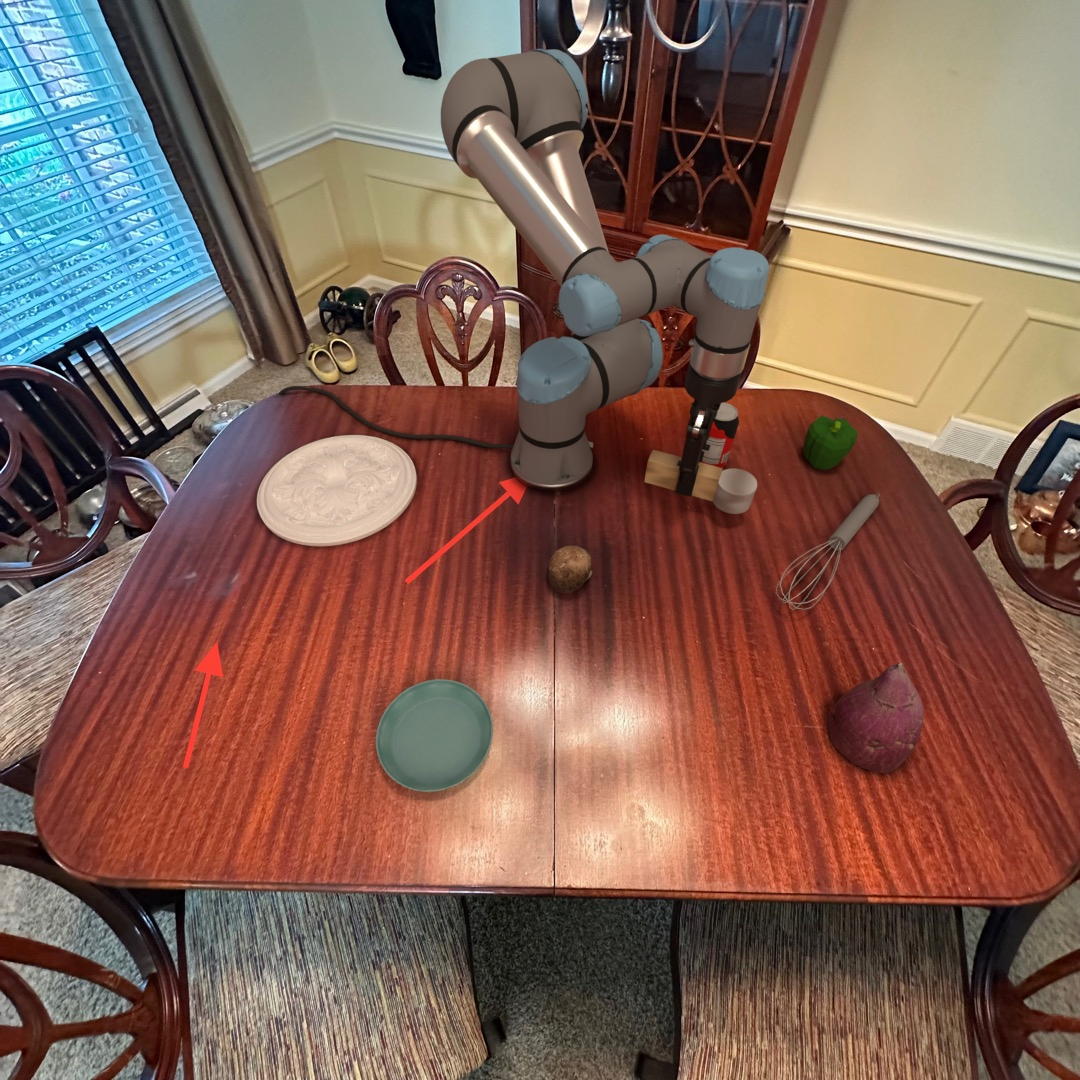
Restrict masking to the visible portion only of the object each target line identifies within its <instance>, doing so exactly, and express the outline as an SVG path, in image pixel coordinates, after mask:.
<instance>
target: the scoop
mask: <svg viewBox="0 0 1080 1080" xmlns="http://www.w3.org/2000/svg"><path fill="white" fill-rule="evenodd" d="M679 460H680V461H681V460H682V456H678V455H674V454H671V453H668V452H663V451H659V450H657V449H652V451H651V453H650V455H649V457H648V459H647V462H646V463H647V464H646V469H645V475H644V483H646V484H649V485H653V486H657V487H660V488H664V489H667V490H671V491H675V492H676V487H677V483H678V478H679V474H680V471H679V466H677V463H678V461H679ZM698 465H699V469H698V473H697V476H696V480H695V484H694V488H693V492H692V495H691V497H696V498H699V499H703V500H706V501H709V502H712V503H713V504H714V506H715V507H716V508H717V509H718V510H720V511H722V512H724V513H726V514H729V515H730V514H731V515H739V514H742V513H745V512H747V511H748V510H749V509H750V508H751V505H752V502H753V500H754V497H755V495H756V491H757V488H758V480H757V478H755V476H754V475H753V474H752V473H750V471H749V472H748V471H746V470H745V469H740V468H735V467H734V468H733V467H731V468H727V469H724V467H723V468H720V467H716V466H712V465H708V464H705V463H701V462H699V464H698Z"/></svg>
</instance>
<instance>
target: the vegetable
mask: <svg viewBox="0 0 1080 1080" xmlns="http://www.w3.org/2000/svg"><path fill="white" fill-rule="evenodd" d="M826 717H827V718H826V719H827V730H828V737H829V740H830V741H831V744H832V745H833V746H834V747H835V749H836V750H837V751H838V752H839V753H840V754H841V755H842V756H843V757H845V758H846V759H847V760H848V761H849V762H850V763H852V764H854V765H855V766H857V767H858V768H862V769H865V770H867V771H871V772H874V773H879V774H890V773H893V772H894V771H895V770H897V769H898V768H899V767H900V766H902V764H904V763H905V762H906V761H907V760H908V758H909V757H910V755H911V754H912V753H913V751H914V750H915V748H916V746H917V744H918V742H919V739H920V737H921V733H922V728H923V724H924V721H925V720H924V719H925V718H924V717H925V707H924V704H923V701H922V698H921V696H920V694H919V692H918V691H917V689H916V687H915V685H914V683H913V682H912V680H911V676H910V675H909V673H908V671H907V670H906V667H905V666H904V663H903V662H898V663H894V664H892V665H890V666H888V667H887V668H885V669H884V671H882V672H881V673H880V675H878V676H875V677H874V678H872V679H869V680H865V681H863V682H861V683H859V684H857V685H855V686H854V687H852V688H851V689H849V690H848V691H847V692H845V693H844V694H843V695H842V696H841V697H840V698H838V700H837V701H836V703H834V705H833V706H832V707H831V708H830V709H829V711H828V713H827V716H826Z"/></svg>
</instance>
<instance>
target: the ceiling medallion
mask: <svg viewBox="0 0 1080 1080" xmlns="http://www.w3.org/2000/svg"><path fill="white" fill-rule="evenodd" d="M414 464H415V463H414V462H413V460H412V459H411V457H410V456H409V454H408V453H407V452H406V451H404V449H402V448H401V447H400V446H398V445H397V444H395V443H393V442H391V441H389V440H386V439H383V438H380V437H376V436H372V435H366V434H365V435H364V434H344V435H337V436H336V435H335V436H330V437H326V438H321V439H318V440H315V441H312V442H309V443H307V444H305V445H302V446H299V448H297V449H295V450H293V451H291V452H290V453H288V454H286V455H285V456H284V457H282V458H281V459H279V460H278V461H277V462H275V464H274V465H272V467H271V468H270V469H269V470H268V472H267V473H266V474H265V476H264V477H263V479H262V481H261V483H260V484H259V487H258V490H257V495H256V507H257V511H258V514H259V517H260V518H261V520H262V522H263V524H264V525H265V526H266V527H267V528H268V530H270V531H271V532H272V533H273V534H274V535H276V536H277V537H279V538H280V539H283V540H285V541H287V542H291V543H293V544H298V545H301V546H302V545H303V546H309V547H333V546H339V545H344V544H350V543H353V542H357V541H359V540H362V539H366V538H368V537H370V536H372V535H374V534H376V533H378V532H380V531H381V530H383V529H384V528H386V527H388V526H389V525H391V524H392V523H393V522H394V521H396V520H397V519H398V518H399V517H400V516H401V515H402V514H403V513H404V512H405V510H406V509H407V508H408V506H409V505H410V503H411V501H413V498H414V496H415V493H416V489H417V486H418V485H417V484H418V478H417V477H418V475H417V471H416V466H415V465H414Z"/></svg>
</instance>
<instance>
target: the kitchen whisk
mask: <svg viewBox="0 0 1080 1080" xmlns="http://www.w3.org/2000/svg"><path fill="white" fill-rule="evenodd" d="M880 495H881V493H880V492H877V493H876V494H872V493H871V494H866V496H864V497H862V499H861V500H860V501H859V502H858V503H857V504H856V505H855V507H854V508H853V509H852V510H851V512H850V513H849V514H848V515H847V517H846V518H845V519H844V520H843V521H842V523H840V525H839V527H837V529H836V530H835V531H834V532H833V533H832V534H831V536H830V537H829V538H828V541H826V542H824V543H822V544H819V545H818V546H815V547H813V548H811V549H810V550H808V551H806V552H805V553H803V554H802V555H800V556H798V557H797V558H796V559H795V560H793V561H792V562H791V563H790V564H789V565H788V566H787V567H786V568H785V570H784V571H783V573H782V575H781V577H780V578H781V579H780V580H779V581H778V583H777V585H776V586H775V595H776V596H777V597H778V599H780V600H781V603H782V604H787V603H788V607H789V609H791V610H792V611H794V610H796V609H798V610H802V611H804V610H809V609H812V608H813V607H814V606H815V605H816V604H818V603H819V601H820V600H821V598H822V597H823V596H824V594H825V592H826V590H827V589H828V588H829V586H830V584H831V582H832V580H833V579H834V576H835V573H836V572H837V568H838V565H839V562H840V558H841V551H842V550H844V549H845V548H846V546H847V545H849V543H850V542H851V540H852V539H853V538H854V536H855V535H856V534H857V533H858V531H859V530H860V529H861V528H862V526H863V525H864V524H865V523H866V522H867V520H868V519H869V518H870V517H871V515H872V514H873V513H874V512H875V510H876V509H877V508H878V506H879V504H880V498H879V497H880ZM821 546H823V547H821ZM827 546H830V547H829V548H828V549H827V551H825V553H823V554H822V555H821V556H820V557H819V558H818V560H816V561H815V562H814V563H813V565H812V566H810V567H809V569H808V570H807V571H805V573H804V574H803V575H802V576H801V577H800V578H799V579H798V580H797V582H795V580H796V577H797V576H798V575H799V573H800V571H801V570H802V569H803V568H804V566H806V564H807V563H808V562H809V561H810V560H811V559H812V558H813V557H815V555H817V554H818V553H819V552H820V551H822V550H823V549H824V548H826V547H827ZM819 547H821V548H819ZM817 548H819V549H817ZM816 549H817V550H816ZM831 549H833V552H832V554H831V556H830V558H828V561H826V564H825V565H824V566H823V567H822V569H821V570H820V571H819V573H818V574H817V575H816V577H815V578H814V579H813V580H812V581H811V582H810V583H809V584H808V585H807V586H806V587H805V588H804V589H802V591H800V592H799V593H797V595H796V596H794V597H792V598H791V599H790V595H791V591H792V590H793V589H794V588H795V586H796V585H797V584H798V583H799V582H800V581H801V580H802V579H803V578H804V577H805V576H806V574H807V573H808V572H810V570H811V569H812V568H814V566H815V565H816V564H817V563H818V562H819V561H820V560H821V559H822V558H823V557H824V556H825V555H826V554H827V553H828V552H829V551H830V550H831ZM813 550H815V551H814V552H813V553H811V554H810V555H808V556H807V557H805V558H804V559H802V560H801V561H800V562H798V563H797V564H796V565H794V566H793V567H792V568H791V569H789V568H790V567H791V566H792V565H793V564H794V563H796V561H798V560H799V559H800V558H802V557H804V556H805V555H806V554H808V553H809V552H811V551H813ZM836 551H837V554H836V558H835V562H834V565H833V568H832V572H831V574H830V576H829V580H828V582H827V584H826V586H825V588H824V589H823V590H822V591H821V593H820V594H818V595H817V596H816V597H814V598H813V599H810V600H808V601H806V599H807V598H808V597H809V595H810V594H811V592H812V591H813V589H814V588H815V586H816V585H817V583H818V581H819V580H820V578H821V577H822V575H823V573H824V571H825V570H826V568H827V566H828V565H829V563H830V561H831V560H832V558H833V556H834V555H835V552H836ZM805 560H806V561H805ZM804 561H805V562H804ZM802 562H804V563H803V564H802V566H801V567H800V568H799V569H798V570H797V572H796V574H795V575H794V578H793V580H792V581H791V584H790V587H789V590H788V592H787V593H786V594H784V592H783V587H782V581H783V580H784V578H785V577H786V576H787V575H788V574H789V573H790V572H791V571H792V570H793V569H794V568H796V567H798V565H800V564H801V563H802ZM787 570H788V571H787ZM816 579H817V580H816ZM815 580H816V581H815ZM814 581H815V583H814ZM794 582H795V584H794ZM813 583H814V585H813V586H812V587H811V589H810V591H809V592H808V593H807V595H806V596H805V598H804V599H803V600H802V601H801V602H794V601H793V600H794V599H796V598H798V596H800V595H801V594H803V593H804V592H805V591H806V590H807V589H808V588H809V587H810V586H811V585H812V584H813ZM793 584H794V585H793ZM778 587H779V588H780V592H781V595H782V596H783V598H781V597H780V596H779V594H778ZM787 596H788V597H787ZM815 600H816V602H815V603H813V604H812V605H811V606H809V607H806V608H801V607H800V606H801V605H802V604H808V603H810V602H813V601H815ZM795 604H796V605H797V606H795ZM791 606H793V608H792V607H791Z"/></svg>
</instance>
